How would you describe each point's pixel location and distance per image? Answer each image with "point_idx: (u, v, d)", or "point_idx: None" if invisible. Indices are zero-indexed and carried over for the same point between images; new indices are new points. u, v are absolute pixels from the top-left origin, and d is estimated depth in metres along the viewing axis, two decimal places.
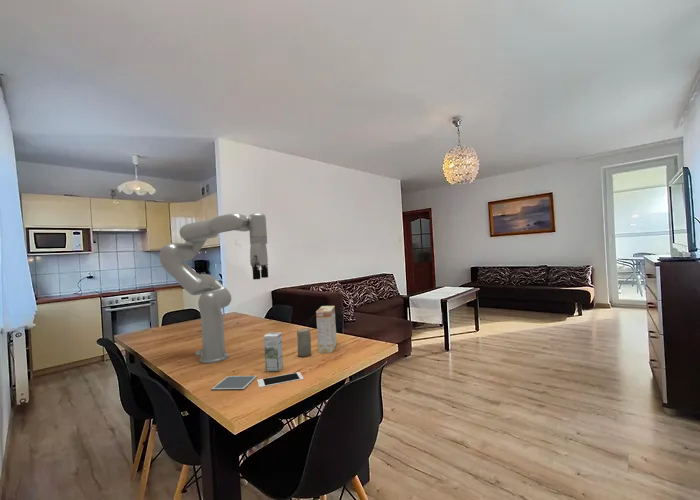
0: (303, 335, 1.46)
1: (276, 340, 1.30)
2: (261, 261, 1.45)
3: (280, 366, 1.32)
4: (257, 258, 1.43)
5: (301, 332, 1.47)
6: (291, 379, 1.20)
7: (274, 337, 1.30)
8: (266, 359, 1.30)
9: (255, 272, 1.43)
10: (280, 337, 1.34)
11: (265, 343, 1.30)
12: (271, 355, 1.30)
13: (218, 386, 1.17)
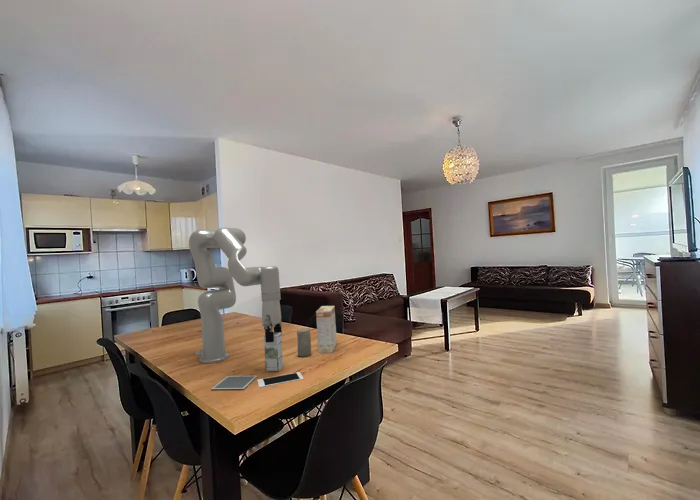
0: (303, 335, 1.46)
1: (276, 340, 1.30)
2: (274, 321, 1.29)
3: (280, 366, 1.32)
4: (270, 318, 1.27)
5: (301, 332, 1.47)
6: (291, 379, 1.20)
7: (274, 337, 1.30)
8: (266, 359, 1.30)
9: (268, 334, 1.27)
10: (280, 337, 1.34)
11: (265, 343, 1.30)
12: (271, 355, 1.30)
13: (218, 386, 1.17)
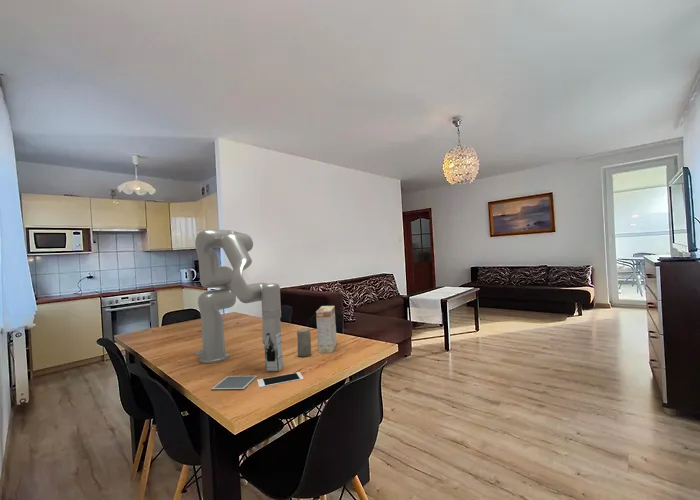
0: (303, 335, 1.46)
1: (276, 340, 1.30)
2: (274, 339, 1.29)
3: (280, 366, 1.31)
4: (270, 336, 1.28)
5: (301, 332, 1.47)
6: (291, 379, 1.20)
7: None
8: (266, 359, 1.30)
9: (269, 354, 1.28)
10: (280, 337, 1.34)
11: None
12: None
13: (218, 386, 1.17)
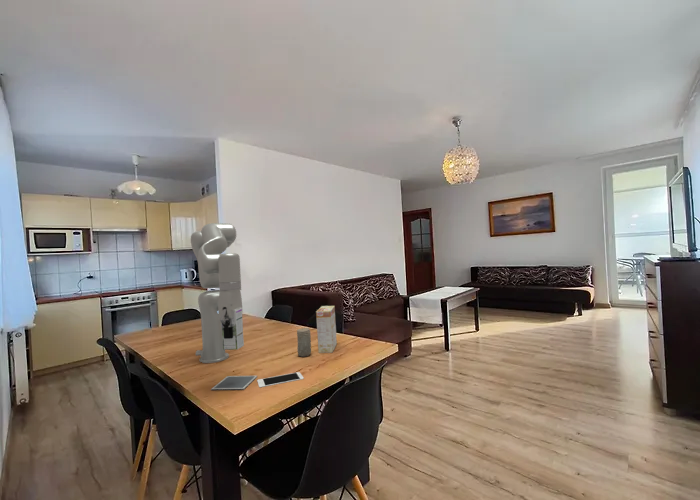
0: (303, 335, 1.46)
1: (234, 315, 1.17)
2: (232, 314, 1.16)
3: (239, 344, 1.19)
4: (227, 311, 1.15)
5: (301, 332, 1.47)
6: (291, 379, 1.20)
7: None
8: (223, 336, 1.17)
9: (226, 330, 1.16)
10: (240, 312, 1.21)
11: None
12: None
13: (218, 386, 1.17)
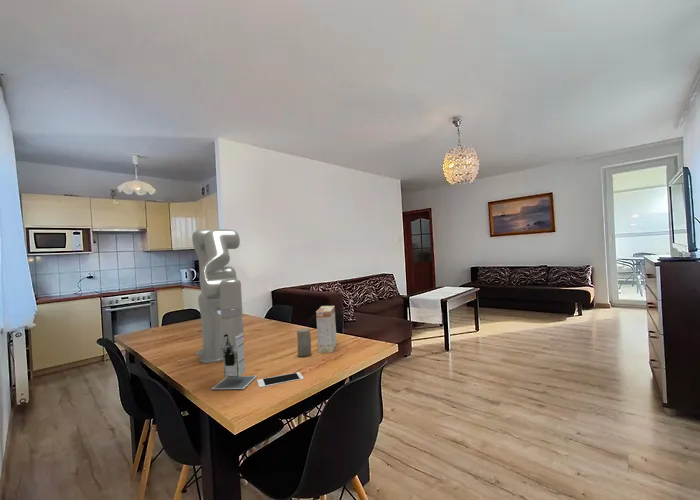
0: (303, 335, 1.46)
1: (236, 342, 1.17)
2: (233, 341, 1.16)
3: (241, 371, 1.19)
4: (228, 338, 1.15)
5: (301, 332, 1.47)
6: (291, 379, 1.20)
7: None
8: None
9: (228, 357, 1.16)
10: (241, 339, 1.21)
11: None
12: None
13: (218, 386, 1.17)
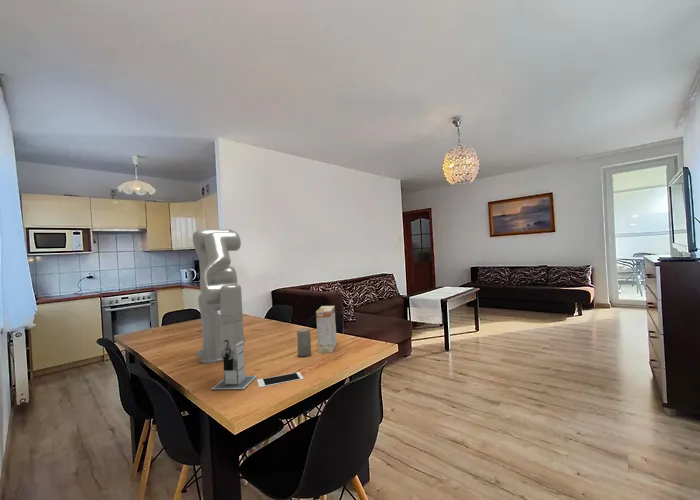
0: (303, 335, 1.46)
1: (236, 350, 1.17)
2: (234, 346, 1.16)
3: (241, 379, 1.19)
4: (228, 343, 1.15)
5: (301, 332, 1.47)
6: (291, 379, 1.20)
7: None
8: (225, 371, 1.17)
9: (226, 362, 1.15)
10: (241, 346, 1.21)
11: None
12: None
13: (218, 386, 1.17)
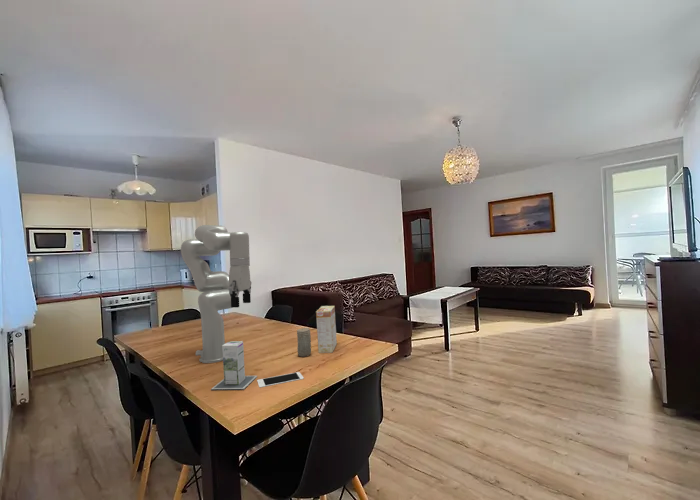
0: (303, 335, 1.46)
1: (236, 350, 1.17)
2: (241, 287, 1.28)
3: (241, 379, 1.19)
4: (236, 284, 1.27)
5: (301, 332, 1.47)
6: (291, 379, 1.20)
7: (233, 347, 1.17)
8: (225, 371, 1.17)
9: (233, 299, 1.26)
10: (241, 346, 1.21)
11: (224, 353, 1.17)
12: (230, 366, 1.17)
13: (218, 386, 1.17)
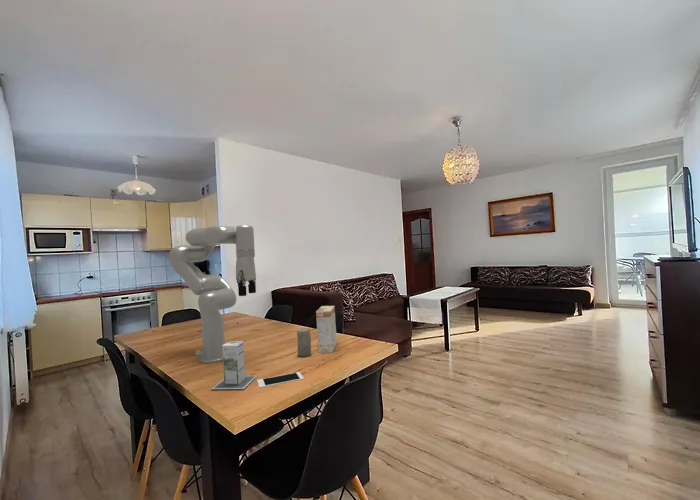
0: (303, 335, 1.46)
1: (236, 350, 1.17)
2: (247, 276, 1.36)
3: (241, 379, 1.19)
4: (243, 273, 1.34)
5: (301, 332, 1.47)
6: (291, 379, 1.20)
7: (233, 347, 1.17)
8: (225, 371, 1.17)
9: (241, 288, 1.34)
10: (241, 346, 1.21)
11: (224, 353, 1.17)
12: (230, 366, 1.17)
13: (218, 386, 1.17)
